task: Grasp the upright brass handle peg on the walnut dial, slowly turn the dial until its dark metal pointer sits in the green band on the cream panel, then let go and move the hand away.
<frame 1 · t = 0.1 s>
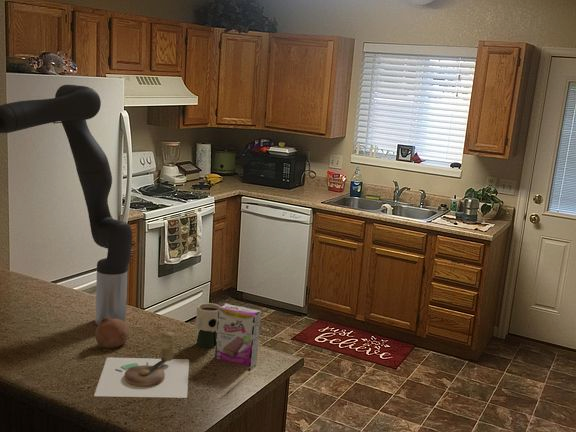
dial panel: (144, 383, 164), on the counter
candy bar box: (235, 364, 180), on the counter
character mug: (206, 349, 189), on the counter
onion: (111, 348, 184), on the counter
tuning dial: (152, 357, 166), point 6 cm above the counter, hinge at -30.0°
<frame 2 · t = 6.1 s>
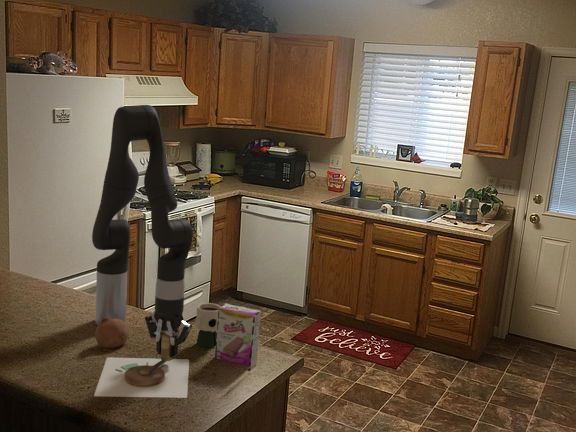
hand: (166, 354, 173), 4 cm above the counter, tool pointing down, fingers closed on tuning dial, 3 cm apart
tuning dial: (152, 357, 166), point 6 cm above the counter, hinge at -30.0°, touching gripper
everything else where it was.
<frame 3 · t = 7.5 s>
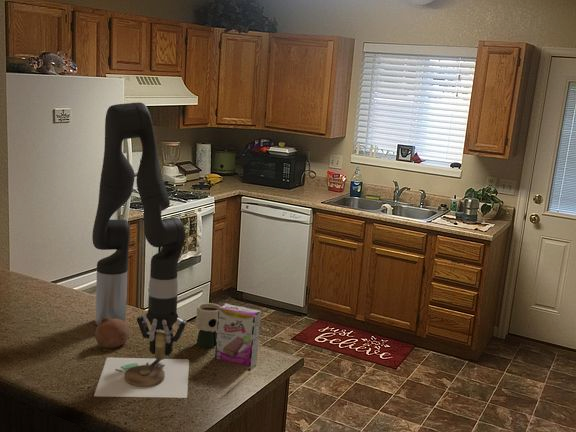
hand: (160, 353, 173), 4 cm above the counter, tool pointing down, fingers closed on tuning dial, 3 cm apart
tuning dial: (150, 357, 166), point 6 cm above the counter, hinge at -19.7°, touching gripper
everything else where it was.
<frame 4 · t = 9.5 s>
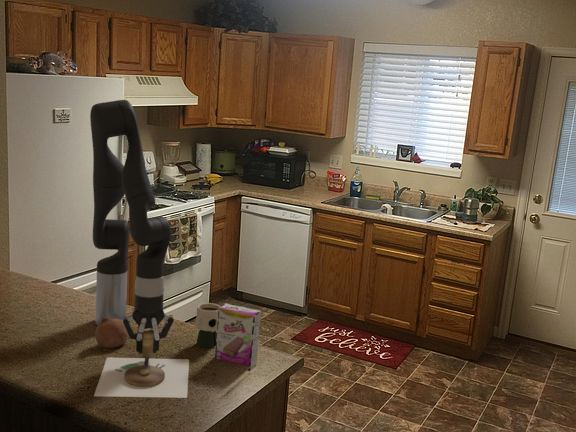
hand: (147, 352, 173), 4 cm above the counter, tool pointing down, fingers closed on tuning dial, 3 cm apart
tuning dial: (146, 356, 166), point 6 cm above the counter, hinge at 1.2°, touching gripper
everything else where it was.
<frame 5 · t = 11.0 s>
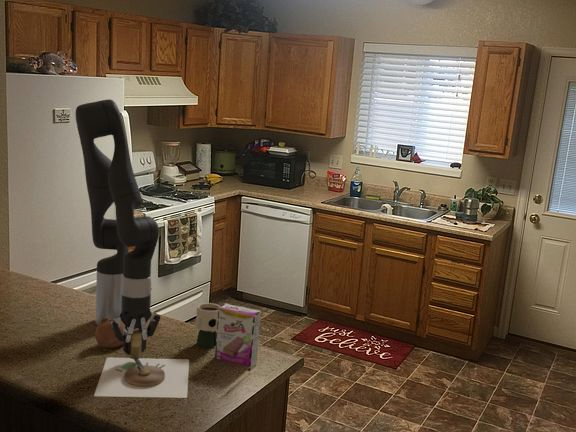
hand: (134, 352, 172), 4 cm above the counter, tool pointing down, fingers closed on tuning dial, 3 cm apart
tuning dial: (141, 356, 166), point 6 cm above the counter, hinge at 19.8°, touching gripper
everything else where it was.
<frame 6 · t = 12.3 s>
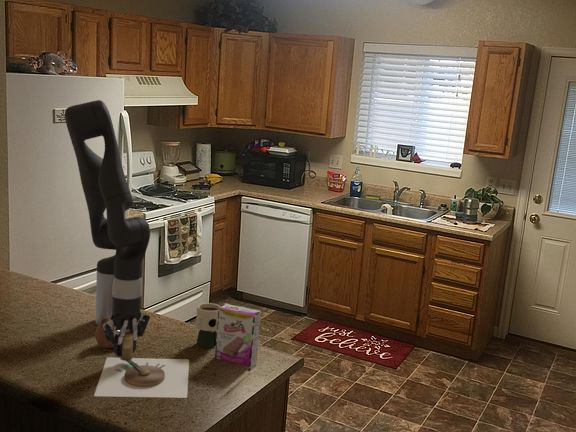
hand: (124, 353, 171), 4 cm above the counter, tool pointing down, fingers closed on tuning dial, 3 cm apart
tuning dial: (138, 357, 165), point 6 cm above the counter, hinge at 33.9°, touching gripper
everything else where it was.
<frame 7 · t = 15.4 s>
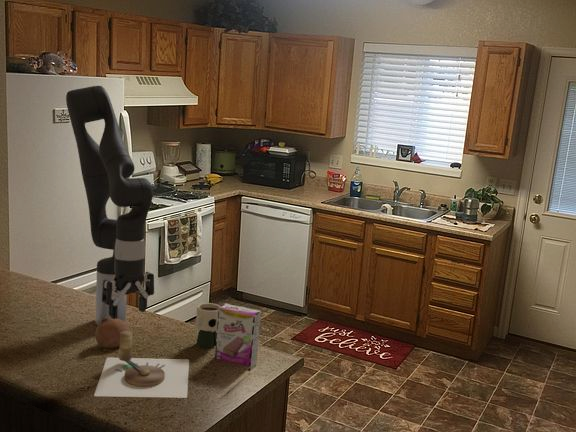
hand: (128, 314, 168), 15 cm above the counter, tool pointing down, fingers open, 8 cm apart
tuning dial: (138, 357, 165), point 6 cm above the counter, hinge at 35.6°
everything else where it was.
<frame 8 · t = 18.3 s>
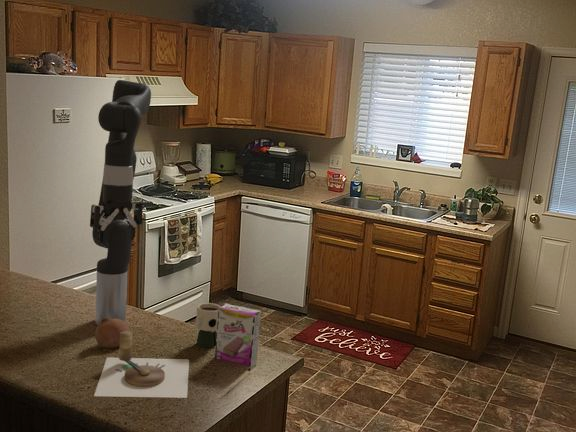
hand: (116, 242, 171), 33 cm above the counter, tool pointing down, fingers open, 8 cm apart
nothing on the counter moved.
at the end: tuning dial at +36° (first picture: -30°); the gripper is holding nothing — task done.
